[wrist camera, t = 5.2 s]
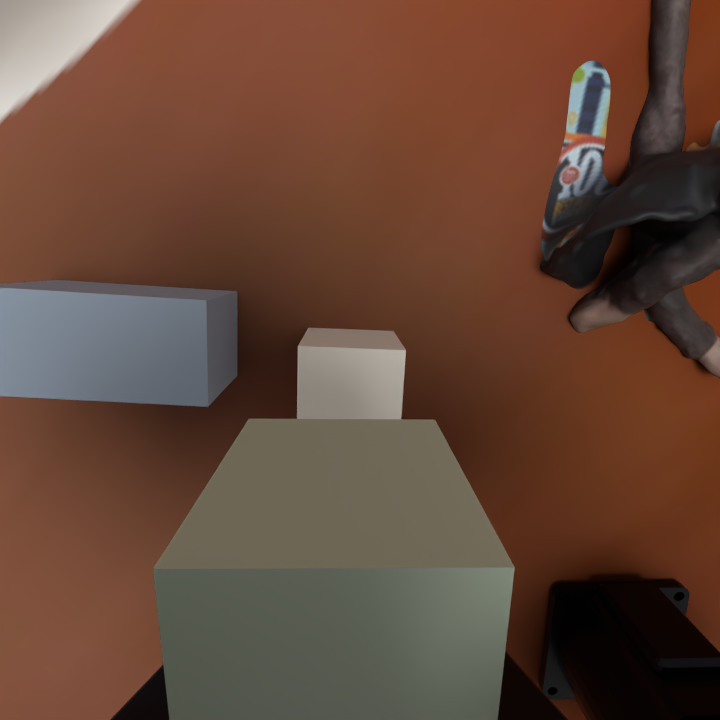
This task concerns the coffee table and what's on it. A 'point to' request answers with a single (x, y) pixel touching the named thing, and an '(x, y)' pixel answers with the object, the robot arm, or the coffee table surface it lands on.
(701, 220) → the stuffed animal
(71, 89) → the coffee table surface
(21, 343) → the slate brick
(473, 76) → the coffee table surface
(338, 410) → the cream brick
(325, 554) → the sage brick
